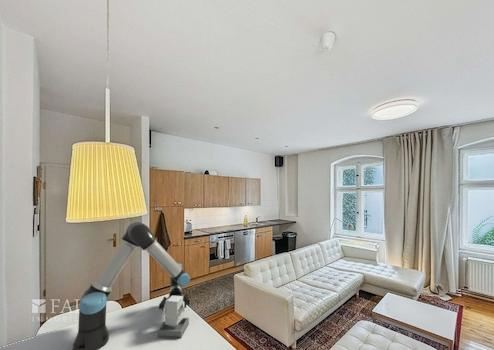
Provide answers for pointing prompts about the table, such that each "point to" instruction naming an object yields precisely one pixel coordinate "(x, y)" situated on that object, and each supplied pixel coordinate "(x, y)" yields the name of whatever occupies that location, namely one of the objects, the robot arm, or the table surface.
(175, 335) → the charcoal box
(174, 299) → the supplement box
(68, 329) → the table surface
